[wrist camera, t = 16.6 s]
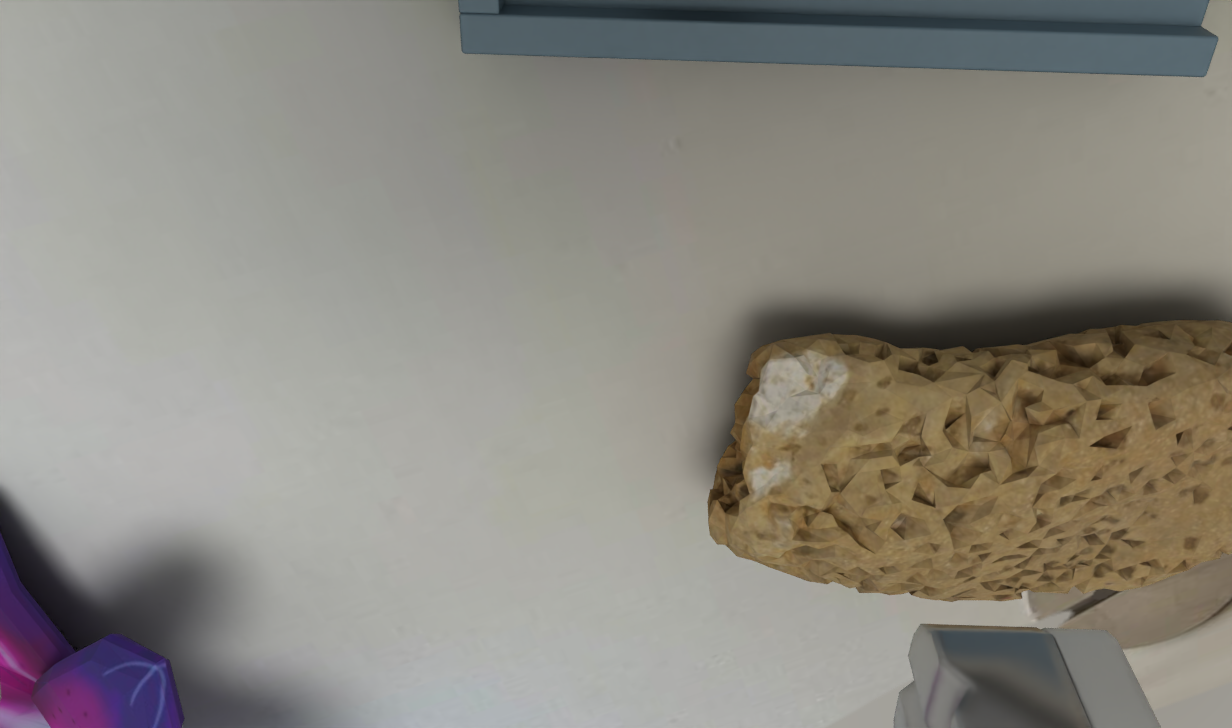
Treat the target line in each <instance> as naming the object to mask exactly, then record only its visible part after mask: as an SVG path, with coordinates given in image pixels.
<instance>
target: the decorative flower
mask: <svg viewBox="0 0 1232 728" xmlns="http://www.w3.org/2000/svg"><path fill="white" fill-rule="evenodd" d="M0 685H1V700H0V728H181V727H182V724H183V721H184V719H185V718H184V715H183V711H182V707H181V703H180V699H179V695H178V691H177V688H176V684H175V680H174V676H173V672H172V668H171V665H170V661H169V660H168V659H166V658H164V657H162V656H160V655H159V654H157V653H155V652H153V651H151V650H149V649H147V648H146V647H144V646H142V645H140V644H138V643H136V642H135V641H133V640H131V639H129V638H127V637H125V636H124V635H122V634H109V635H108V636H106V637H104V638H102V639H100V640H98V641H96V642H94V643H92V644H91V645H89V646H87V647H85V648H83V649H81V650H79V651H77V652H75V650H74V649H73V648H72V647H71V645H70V644H69V643H68V642H67V640H66V639H65V638H64V636H63V635H62V634H61V633H60V631H59V630H58V629H57V628H56V626H55V625H54V624H53V622H52V621H51V620H50V619H49V617H48V616H47V615H46V614H45V612H44V611H43V610H42V609H41V607H40V606H39V605H38V603H37V602H36V601H35V600H34V598H33V597H32V596H31V595H30V593H29V592H28V591H27V589H26V588H25V587H24V586H23V584H22V583H21V582H20V579H19V577H18V574H17V572H16V569H15V567H14V564H13V562H12V559H11V557H10V554H9V552H8V550H7V547H6V545H5V542H4V540H3V537H2V535H1V532H0Z"/></svg>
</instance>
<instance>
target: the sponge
mask: <svg viewBox="0 0 1232 728" xmlns="http://www.w3.org/2000/svg"><path fill="white" fill-rule="evenodd" d="M746 374H748V375H749V376H750V377H752V378H753V380H752V381H751V382H750V383H749V385H748V386H747V387H746V388H745V390H744V391H743V393H742V394H741V396H740V397H739V399H738V400H737V402H736V403H735V424H734V426H733V428H732V430H731V432H730V433H731V434H732V436H733V437H734V438H735V439H736V440H735V441H734V442H733V443H732V444H730V445H729V446H728V447H727V449H726V451H725V452H724V454H723V456H722V458H721V459H720V462H719V464H718V466H717V471H716V475H715V480H714V486H713V489H711V490H710V494H709V498H708V517H709V518H708V523H709V531H710V536H711V537H712V538H713V539H714V541H715V542H716V543H717V544H723V545H726V546H727V547H728V548H729V549H730V550H731V551H732V552H733V553H734V554H735V555H736V556H738V557H742V558H745V559H749V560H753V561H756V562H759V563H761V564H763V565H766V566H768V567H770V568H773V569H776V570H779V571H782V572H785V573H787V574H790V575H793V576H796V577H798V578H801V579H804V580H806V581H810V582H817V583H824V584H828V583H830V582H832V581H833V582H836V583H839V584H842V585H844V586H846V587H848V588H854V587H856V589H857V590H858V592H859V593H883V594H888V595H896V594H904V593H907V592H909V593H910V594H911V595H913V596H916V597H919V598H925V599H931V600H943V601H950V602H953V601H957V600H994V601H1007V600H1014V599H1021V598H1022V595H1021V592H1023V591H1026V590H1031V591H1033V592H1049V593H1068V592H1069V590H1070V589H1071V587H1073V586H1075V587H1076V588H1077V589H1079V590H1080V591H1081V592H1082V593H1083V594H1084V593H1087V592H1089V591H1092V590H1097V589H1102V588H1107V589H1111V590H1116V591H1123V590H1128V589H1134V588H1140V587H1144V586H1147V585H1150V584H1154V583H1156V582H1158V581H1161V580H1163V579H1165V578H1168V577H1170V576H1173V575H1175V574H1178V573H1181V572H1184V571H1187V570H1189V569H1191V568H1192V567H1194V566H1196V565H1197V564H1199V563H1201V562H1206V561H1211V560H1215V559H1220V557H1221V555H1222V553H1226V554H1228V555H1229V554H1231V553H1232V323H1231V322H1226V321H1221V320H1214V321H1210V320H1176V321H1160V322H1151V323H1143V324H1140V325H1138V326H1131V325H1119V326H1116V327H1109V328H1101V329H1088V330H1085V331H1083V332H1081V333H1078V334H1067V335H1063V336H1059V337H1055V338H1051V339H1047V340H1043V341H1039V342H1035V343H1031V344H1027V345H1017V344H1016V345H1007V346H997V347H987V348H978V349H975V350H974V351H972V352H970V351H969V350H968V349H966V348H965V347H964V346H961V347H955V348H949V349H944V350H938V349H934V348H933V349H930V348H898V347H895V346H893V345H891V344H889V343H887V342H883V341H880V340H877V339H873V338H868V337H863V336H859V335H840V334H831V333H825V334H818V335H812V336H805V337H798V338H790V339H783V340H779V341H776V342H773V343H770V344H767V345H763V346H761V347H760V348H759V349H757V350H756V351H755V352H753V353H752V354H751V357H750V361H749V365H748V368H747V372H746Z"/></svg>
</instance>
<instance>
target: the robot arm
mask: <svg viewBox="0 0 1232 728" xmlns="http://www.w3.org/2000/svg"><path fill="white" fill-rule="evenodd" d="M908 657H909V661H910V665H911V669H912V673H913V678H914V681H913V682H912V683H910V684H909V685H908V686H906V687H905V688H904V689H903V690H901V691H900V692H899V696H898V701H897V706H896V711H895V716H894V728H1161V726H1160V724H1159V722H1158V720H1157V718H1156V717H1155V714H1154V712H1153V710H1152V708H1151V706H1150V704H1149V702H1148V700H1147V698H1146V696H1145V694H1144V692H1143V690H1142V688H1141V686H1140V684H1139V682H1138V680H1137V678H1136V676H1135V674H1134V672H1133V670H1132V668H1131V666H1130V664H1129V662H1128V660H1127V658H1126V656H1125V654H1124V652H1123V650H1122V648H1121V646H1120V644H1119V642H1118V640H1117V639H1116V638H1114V637H1113V636H1112V635H1111V634H1110V633H1109V632H1108V631H1107V630H1087V629H1058V628H1043V629H1038V628H1034V627H1003V626H972V625H940V624H920V626H919V627H918V629H917V630H916V632H915V633H914V635H913V639H912V643H911V646H910V650H909V654H908ZM0 700H1V685H0Z"/></svg>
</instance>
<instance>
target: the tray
mask: <svg viewBox="0 0 1232 728" xmlns="http://www.w3.org/2000/svg"><path fill="white" fill-rule="evenodd" d="M1208 3H1209V0H458V4H459V12H461V13H460V16H459V17H460V32H461V48H462V52H463V53H465V54H494V55H525V56H556V57H588V58H619V59H651V60H682V61H713V62H745V63H776V64H808V65H839V66H870V67H902V68H933V69H965V70H996V71H1027V72H1059V73H1090V74H1122V75H1153V76H1184V77H1204V76H1206V74H1207V71H1208V68H1209V65H1210V62H1211V59H1212V56H1213V54H1214V51H1215V48H1216V45H1217V42H1218V37H1217V36H1216V35H1214V34H1212V33H1211V32H1209V31H1208V30H1206V29H1204V28H1203V27H1201V24H1202V21H1203V18H1204V15H1205V12H1206V9H1207V6H1208Z"/></svg>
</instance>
